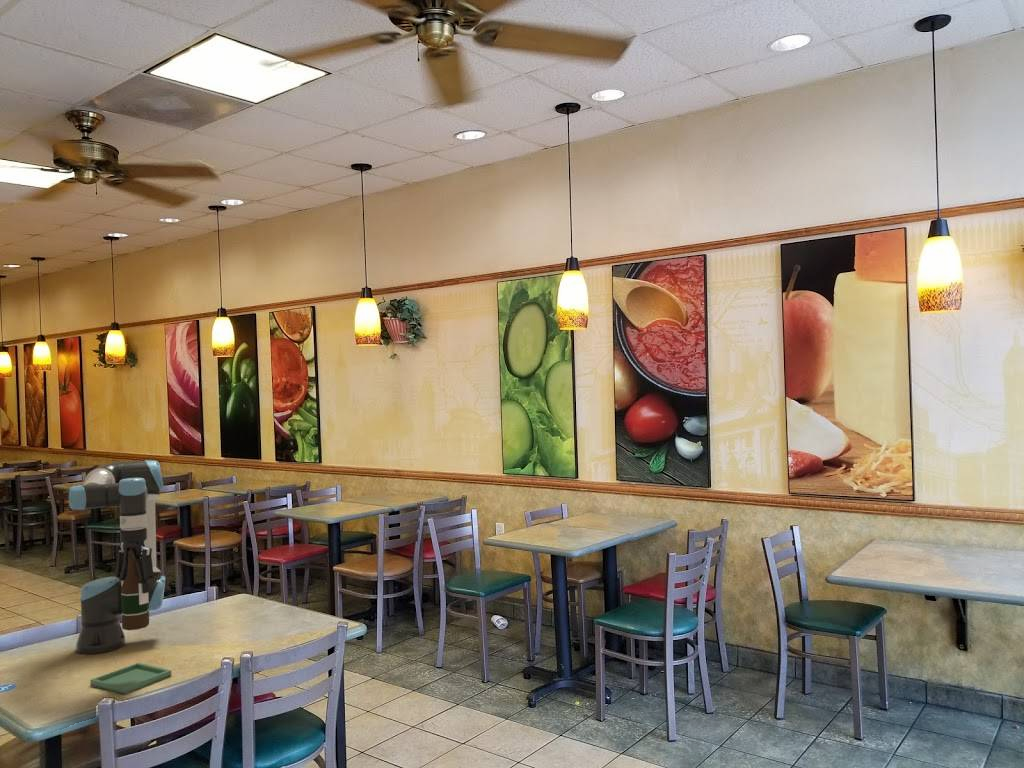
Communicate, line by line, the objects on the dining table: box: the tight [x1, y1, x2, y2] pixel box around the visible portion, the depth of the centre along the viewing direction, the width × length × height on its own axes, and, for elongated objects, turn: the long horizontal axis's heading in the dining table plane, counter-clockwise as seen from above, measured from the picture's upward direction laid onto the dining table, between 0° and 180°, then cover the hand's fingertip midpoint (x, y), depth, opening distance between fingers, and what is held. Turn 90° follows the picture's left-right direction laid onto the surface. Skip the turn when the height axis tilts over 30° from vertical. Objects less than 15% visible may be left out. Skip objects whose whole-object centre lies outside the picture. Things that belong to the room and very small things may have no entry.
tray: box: [90, 662, 172, 695], centre depth 238 cm, size 16×16×2 cm
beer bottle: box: [121, 550, 150, 631], centre depth 241 cm, size 8×8×24 cm
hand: (135, 602), depth 241 cm, fingers closed on beer bottle, 7 cm apart
